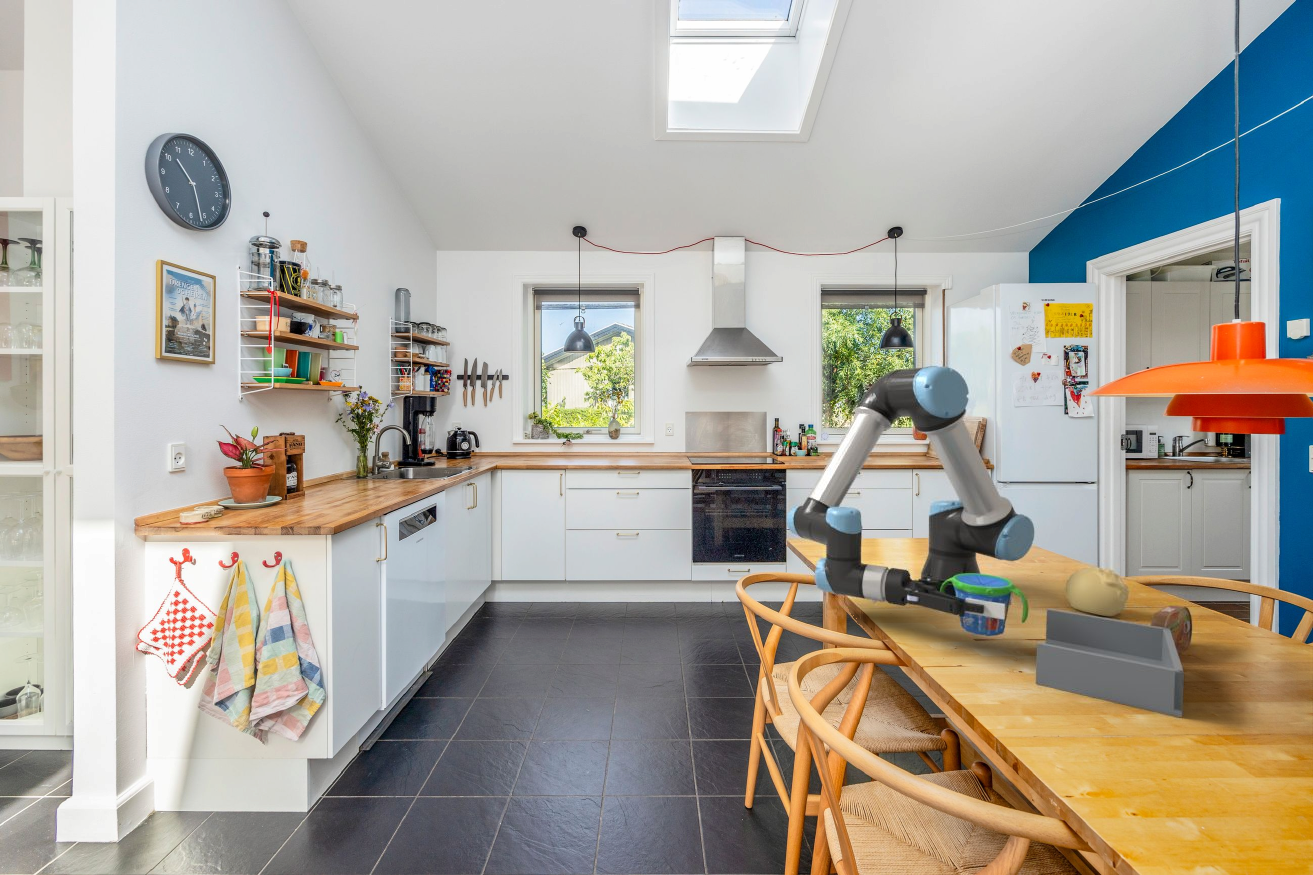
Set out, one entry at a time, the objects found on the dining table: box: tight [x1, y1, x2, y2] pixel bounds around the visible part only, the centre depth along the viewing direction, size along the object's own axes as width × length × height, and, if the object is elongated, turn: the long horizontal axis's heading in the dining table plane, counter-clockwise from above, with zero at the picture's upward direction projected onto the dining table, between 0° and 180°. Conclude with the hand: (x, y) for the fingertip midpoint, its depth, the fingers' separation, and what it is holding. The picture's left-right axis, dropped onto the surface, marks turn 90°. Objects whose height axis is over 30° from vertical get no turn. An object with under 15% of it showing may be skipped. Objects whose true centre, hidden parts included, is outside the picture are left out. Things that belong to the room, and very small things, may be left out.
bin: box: [1035, 607, 1185, 718], centre depth 107 cm, size 24×19×7 cm
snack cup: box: [940, 573, 1030, 637], centre depth 119 cm, size 16×10×10 cm
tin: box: [1149, 605, 1193, 655], centre depth 119 cm, size 15×3×8 cm, turn 123°
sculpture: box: [1065, 565, 1130, 617], centre depth 142 cm, size 12×12×11 cm
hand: (1008, 604), depth 116 cm, fingers closed on snack cup, 9 cm apart
